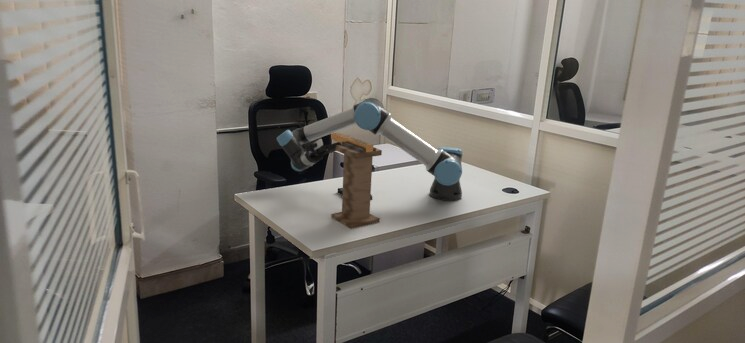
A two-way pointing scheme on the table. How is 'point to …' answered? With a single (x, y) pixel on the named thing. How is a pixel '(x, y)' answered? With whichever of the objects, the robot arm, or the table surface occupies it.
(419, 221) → the table surface
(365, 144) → the wood grain block
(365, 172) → the stand
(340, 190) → the disk drive
